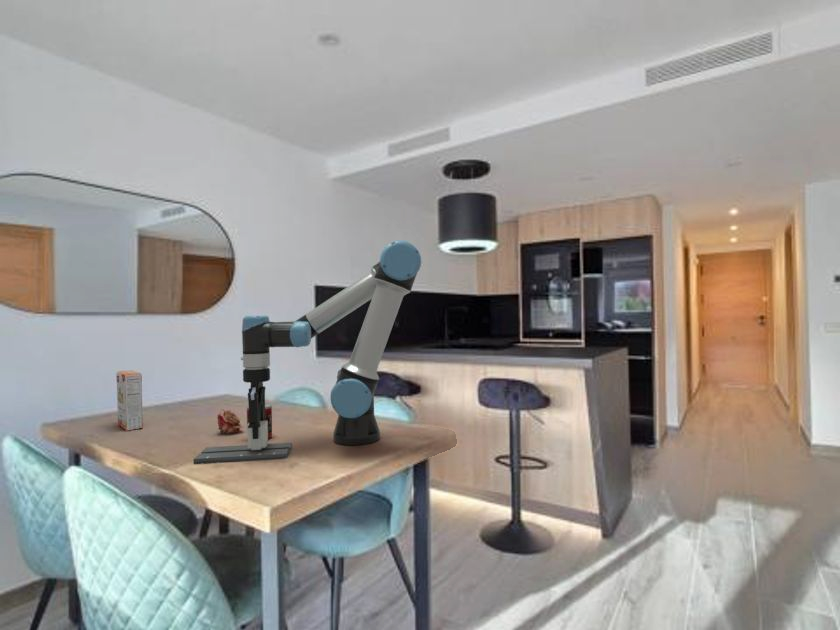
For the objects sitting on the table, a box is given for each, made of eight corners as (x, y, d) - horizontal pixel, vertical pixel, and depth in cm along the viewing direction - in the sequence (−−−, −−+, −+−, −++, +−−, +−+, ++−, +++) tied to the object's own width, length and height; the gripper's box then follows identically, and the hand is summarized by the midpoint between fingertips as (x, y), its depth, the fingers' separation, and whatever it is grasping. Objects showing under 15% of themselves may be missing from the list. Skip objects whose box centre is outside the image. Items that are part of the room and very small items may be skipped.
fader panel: (291, 447, 146) (291, 442, 146) (286, 458, 134) (286, 453, 134) (206, 451, 143) (206, 447, 143) (193, 464, 131) (193, 458, 131)
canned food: (264, 442, 153) (264, 408, 153) (242, 441, 155) (241, 407, 155) (276, 436, 160) (276, 403, 160) (255, 435, 162) (254, 403, 162)
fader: (268, 448, 141) (267, 420, 141) (265, 452, 137) (265, 423, 138) (250, 449, 141) (250, 421, 141) (247, 453, 137) (247, 424, 137)
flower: (207, 432, 161) (220, 413, 161) (212, 421, 170) (224, 403, 170) (232, 445, 164) (245, 426, 164) (236, 433, 173) (248, 416, 173)
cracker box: (116, 425, 182) (115, 371, 182) (134, 423, 186) (133, 370, 186) (124, 431, 172) (123, 374, 172) (143, 428, 176) (142, 372, 176)
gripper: (249, 365, 147) (251, 440, 147) (236, 371, 130) (237, 456, 130) (274, 364, 148) (275, 439, 148) (264, 370, 131) (265, 454, 131)
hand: (258, 447), depth 139 cm, fingers closed on fader, 4 cm apart
